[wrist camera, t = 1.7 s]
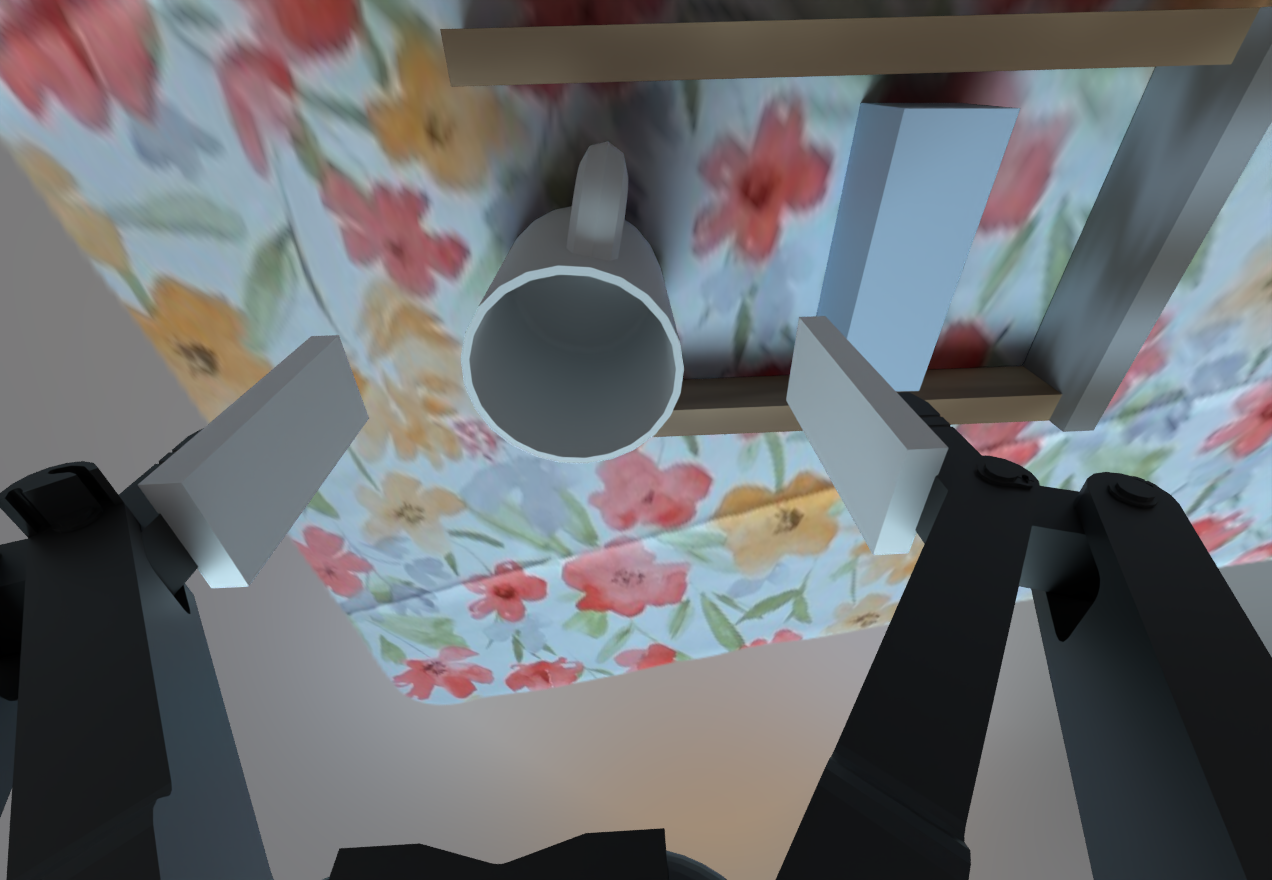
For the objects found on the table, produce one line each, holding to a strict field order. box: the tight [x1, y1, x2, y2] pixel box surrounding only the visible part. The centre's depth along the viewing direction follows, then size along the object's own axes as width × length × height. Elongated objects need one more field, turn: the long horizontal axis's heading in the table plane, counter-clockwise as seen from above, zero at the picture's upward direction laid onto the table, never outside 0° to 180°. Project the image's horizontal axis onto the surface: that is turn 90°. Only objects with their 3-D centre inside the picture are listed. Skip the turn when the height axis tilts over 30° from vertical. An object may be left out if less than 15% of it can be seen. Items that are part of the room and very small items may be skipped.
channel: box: [440, 7, 1272, 437], centre depth 22 cm, size 16×28×4 cm, turn 91°
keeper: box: [816, 103, 1020, 391], centre depth 23 cm, size 11×4×4 cm, turn 0°
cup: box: [461, 141, 684, 463], centre depth 20 cm, size 7×10×9 cm
